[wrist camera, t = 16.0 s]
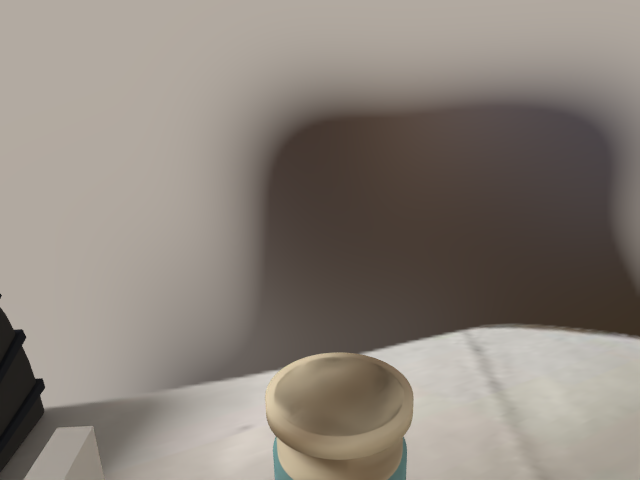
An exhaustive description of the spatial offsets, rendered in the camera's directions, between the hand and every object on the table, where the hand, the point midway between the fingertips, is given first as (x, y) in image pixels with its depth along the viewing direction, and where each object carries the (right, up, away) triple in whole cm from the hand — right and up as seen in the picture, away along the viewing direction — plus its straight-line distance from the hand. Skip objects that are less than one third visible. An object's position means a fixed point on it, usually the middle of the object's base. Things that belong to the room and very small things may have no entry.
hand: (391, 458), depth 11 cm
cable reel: (0, -16, +16) cm, 23 cm away
